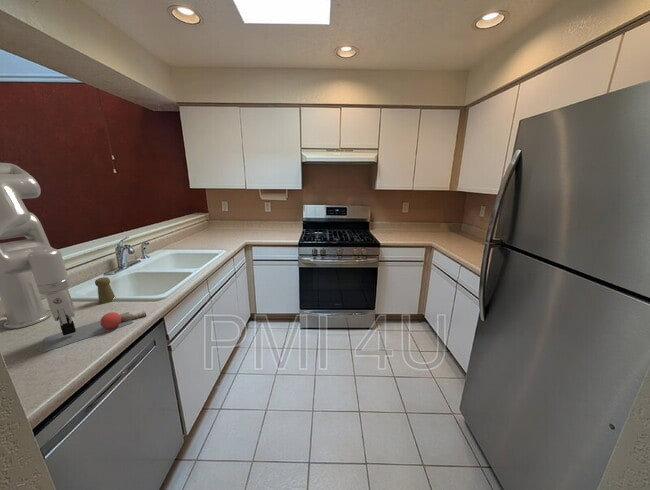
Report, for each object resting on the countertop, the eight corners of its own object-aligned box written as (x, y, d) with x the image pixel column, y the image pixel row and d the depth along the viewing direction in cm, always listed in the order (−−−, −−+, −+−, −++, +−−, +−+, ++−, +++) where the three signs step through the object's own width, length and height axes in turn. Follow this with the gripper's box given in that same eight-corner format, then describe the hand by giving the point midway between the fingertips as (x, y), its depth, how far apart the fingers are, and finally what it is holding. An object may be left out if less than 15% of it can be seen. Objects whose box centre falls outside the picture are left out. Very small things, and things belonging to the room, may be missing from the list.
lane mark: (43, 352, 83) (43, 352, 83) (45, 337, 90) (45, 337, 90) (133, 322, 99) (133, 322, 99) (128, 312, 107) (128, 311, 107)
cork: (119, 297, 120) (113, 275, 117) (109, 303, 114) (103, 280, 111) (106, 297, 120) (100, 275, 117) (95, 303, 114) (88, 281, 111)
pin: (119, 320, 98) (145, 312, 103) (118, 315, 99) (144, 308, 104) (120, 324, 99) (146, 316, 104) (119, 319, 101) (145, 312, 106)
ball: (124, 324, 99) (105, 327, 97) (123, 309, 99) (104, 311, 97) (118, 329, 94) (97, 332, 91) (117, 313, 94) (96, 315, 91)
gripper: (70, 289, 83) (85, 337, 88) (69, 276, 93) (82, 320, 98) (36, 296, 78) (54, 347, 83) (39, 282, 88) (55, 328, 93)
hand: (69, 332), depth 91 cm, fingers closed
